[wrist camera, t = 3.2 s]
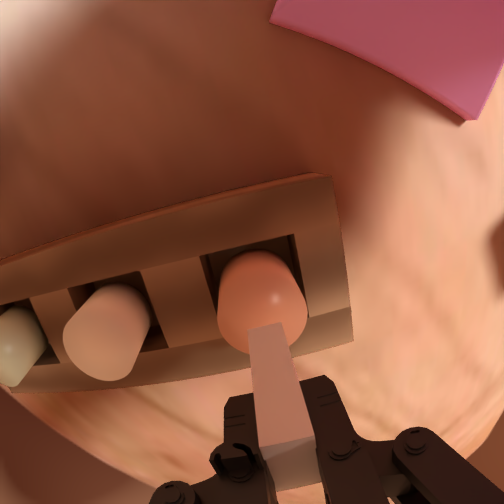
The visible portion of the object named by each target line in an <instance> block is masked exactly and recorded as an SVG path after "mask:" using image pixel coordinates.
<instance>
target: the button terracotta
mask: <svg viewBox="0 0 504 504" xmlns="http://www.w3.org/2000/svg"><path fill="white" fill-rule="evenodd" d="M307 314H308V312H307V305H306V302H305V299H304V297H303V295H302V293H301V291H300V289H299V287H298V285H297V283H296V281H295V279H294V277H293V275H292V273H291V272H290V270H289V268H288V266H287V264H286V263H285V261H284V260H283V259H282V258H281V257H280V256H278V255H277V254H276V253H274V252H272V251H269V250H266V249H259V248H254V249H247V250H244V251H242V252H239V253H238V254H236V255H234V256H233V257H232V258H231V259H230V260H229V261H228V262H227V263H226V265H225V266H224V268H223V270H222V273H221V277H220V286H219V299H218V312H217V322H218V327H219V330H220V332H221V334H222V336H223V337H224V339H225V340H226V341H227V342H228V343H229V344H230V345H231V346H233V347H234V348H235V349H237V350H239V351H241V352H244V353H247V354H250V353H249V343H248V333H247V330H248V329H252V328H257V327H261V326H265V325H270V324H274V323H278V322H281V323H282V326H283V330H284V333H285V336H286V340H287V343H288V346H290V345H291V344H293V343H294V342H295V341H296V340H297V339H298V338H299V336H300V335H301V333H302V332H303V330H304V328H305V325H306V322H307Z"/></svg>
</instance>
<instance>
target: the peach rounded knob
mask: <svg viewBox="0 0 504 504" xmlns="http://www.w3.org/2000/svg"><path fill="white" fill-rule="evenodd" d="M151 322H152V313H151V308H150V306H149V303H148V302H147V300H146V298H145V297H144V296H143V295H142V294H141V293H140V292H139V291H138V290H137V289H135V288H134V287H132V286H130V285H128V284H126V283H122V282H109V283H106V284H104V285H102V286H100V287H99V288H98V289H97V290H96V291H95V292H94V293H93V294H92V295H91V297H90V298H89V299H88V300H87V301H86V302H85V303H84V304H83V305H82V306H81V308H80V309H79V310H78V311H77V312H76V313H75V314H74V315H73V317H72V318H71V319H70V320H69V321H68V322H67V324H66V325H65V328H64V331H63V344H64V347H65V350H66V352H67V354H68V356H69V358H70V359H71V361H72V362H73V363H74V364H75V365H76V366H77V367H78V368H79V369H80V370H81V371H83V372H84V373H86V374H87V375H89V376H91V377H93V378H96V379H99V380H104V381H115V380H119V379H122V378H124V377H125V376H127V375H128V374H129V373H130V372H131V370H132V368H133V366H134V363H135V361H136V358H137V356H138V354H139V351H140V349H141V347H142V344H143V342H144V340H145V337H146V335H147V333H148V330H149V328H150V326H151Z"/></svg>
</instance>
